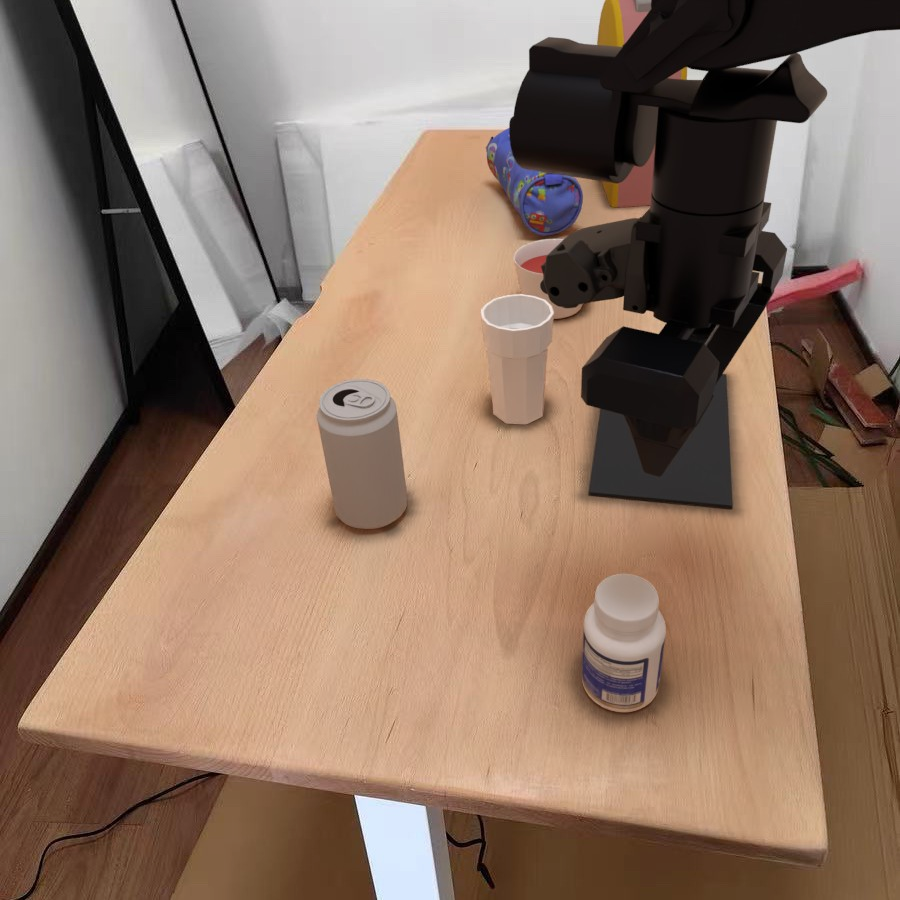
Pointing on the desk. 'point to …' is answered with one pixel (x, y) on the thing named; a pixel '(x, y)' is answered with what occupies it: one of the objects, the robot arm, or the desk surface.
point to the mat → (688, 475)
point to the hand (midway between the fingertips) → (678, 431)
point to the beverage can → (363, 453)
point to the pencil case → (535, 190)
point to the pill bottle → (623, 644)
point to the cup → (517, 355)
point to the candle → (537, 272)
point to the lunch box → (616, 26)
